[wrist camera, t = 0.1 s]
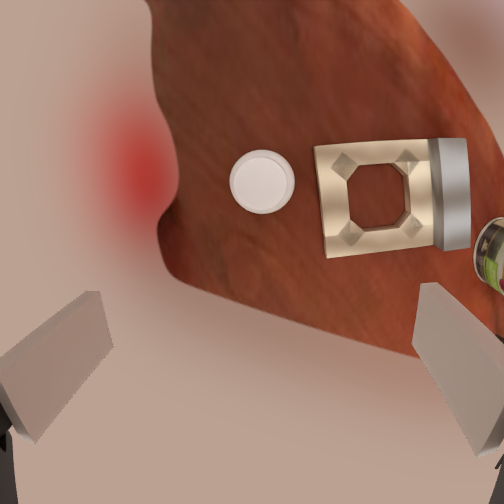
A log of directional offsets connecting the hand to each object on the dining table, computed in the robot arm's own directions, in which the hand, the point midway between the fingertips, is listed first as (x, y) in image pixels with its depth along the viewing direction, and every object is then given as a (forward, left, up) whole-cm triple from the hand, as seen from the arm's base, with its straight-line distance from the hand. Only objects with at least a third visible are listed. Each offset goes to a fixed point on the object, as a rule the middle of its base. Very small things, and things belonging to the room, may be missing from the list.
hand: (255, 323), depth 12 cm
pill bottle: (-4, 0, -28) cm, 28 cm away
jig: (-1, +15, -28) cm, 31 cm away
